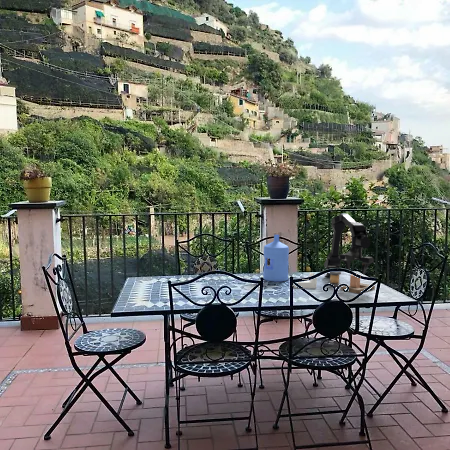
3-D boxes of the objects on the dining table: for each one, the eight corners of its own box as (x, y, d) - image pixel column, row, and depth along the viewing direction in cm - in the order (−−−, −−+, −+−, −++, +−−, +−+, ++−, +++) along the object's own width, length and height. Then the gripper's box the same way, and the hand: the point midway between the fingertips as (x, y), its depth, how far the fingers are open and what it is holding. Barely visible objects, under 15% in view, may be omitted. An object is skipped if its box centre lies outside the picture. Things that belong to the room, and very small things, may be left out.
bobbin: (326, 284, 255) (326, 271, 254) (332, 283, 260) (333, 270, 259) (336, 287, 250) (336, 273, 249) (342, 285, 255) (343, 272, 254)
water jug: (285, 276, 278) (286, 233, 275) (290, 282, 262) (291, 236, 260) (261, 276, 277) (262, 233, 274) (265, 282, 261) (266, 236, 259)
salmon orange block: (349, 288, 246) (350, 275, 245) (353, 287, 249) (354, 274, 248) (356, 290, 243) (356, 276, 242) (359, 289, 246) (360, 275, 245)
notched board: (340, 289, 243) (340, 286, 243) (356, 285, 254) (356, 282, 254) (358, 293, 235) (358, 290, 234) (374, 289, 246) (374, 285, 246)
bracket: (313, 285, 254) (313, 273, 254) (316, 288, 247) (316, 275, 247) (291, 285, 254) (291, 273, 253) (294, 288, 246) (294, 275, 246)
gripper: (334, 245, 245) (333, 272, 246) (364, 249, 231) (363, 277, 233) (345, 244, 253) (344, 270, 254) (374, 247, 239) (373, 275, 240)
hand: (355, 273), depth 245 cm, fingers open, 9 cm apart
